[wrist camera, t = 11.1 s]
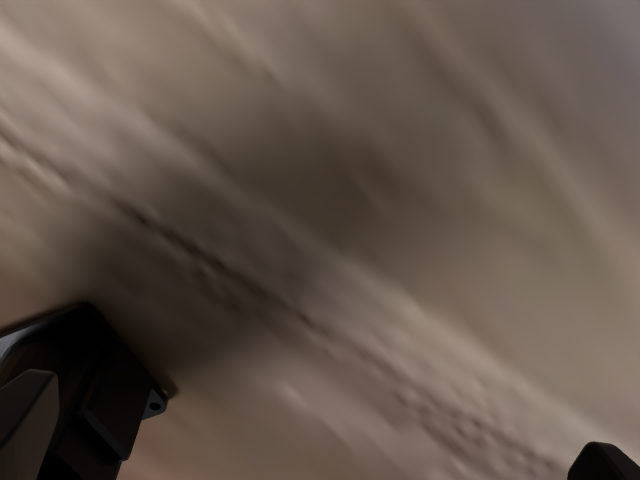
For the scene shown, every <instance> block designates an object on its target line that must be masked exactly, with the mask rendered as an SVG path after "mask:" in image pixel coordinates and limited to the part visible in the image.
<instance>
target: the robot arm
mask: <svg viewBox="0 0 640 480" xmlns="http://www.w3.org/2000/svg"><path fill="white" fill-rule="evenodd" d="M80 313H83V314H86V315H87V316H88V317H84V316H82V315H81V314H80ZM156 403H158V404H156ZM167 404H168V398H167V396H166V395H165V394H164V393H163V391H162V390H161V389H160V388H159V386H158V385H157V384H156V383H155V381H154V379H153V378H152V376H151V375H150V374H149V373H148V371H147V370H146V369H145V368H144V366H143V365H142V364H141V363H140V361H139V360H138V359H137V358H136V356H135V355H134V354H133V353H132V351H131V350H130V349H129V348H128V346H127V345H126V344H125V343H124V342H123V341H122V340H121V339H120V338H119V336H118V335H117V334H116V333H115V331H114V330H113V329H112V328H111V326H110V325H109V324H108V323H107V321H106V320H105V319H104V318H103V316H102V315H101V314H100V312H99V311H98V310H97V309H96V308H95V307H94V306H93V305H92V304H89V303H85V302H81V303H77V304H74V305H72V306H69V307H67V308H64V309H62V310H59V311H57V312H54V313H52V314H49V315H47V316H44V317H41V318H39V319H36V320H34V321H31V322H29V323H26V324H24V325H21V326H19V327H16V328H14V329H11V330H8V331H6V332H3V333H1V334H0V480H116V478H117V475H118V472H119V469H120V466H121V463H122V462H123V461H126V460H128V459H129V457H130V454H131V451H132V448H133V445H134V442H135V439H136V436H137V432H138V429H139V426H140V423H141V420H144V419H147V418H150V417H153V416H156V415H159V414H161V413H163V412H164V411H165V410H166V408H167ZM567 480H640V467H639V466H638V465H637V464H636V463H635V462H634V461H633V460H631V459H630V458H629V457H628V456H627V455H626V454H624V453H623V452H622V451H621V450H620V449H619V448H617V447H616V446H614V445H612V444H609V443H602V442H594V441H593V442H589V443H587V444H586V445H585V446H584V448H583V449H582V451H581V452H580V454H579V455H578V457H577V458H576V460H575V461H574V463H573V464H572V466H571V467H570V469H569V472H568V477H567Z"/></svg>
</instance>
